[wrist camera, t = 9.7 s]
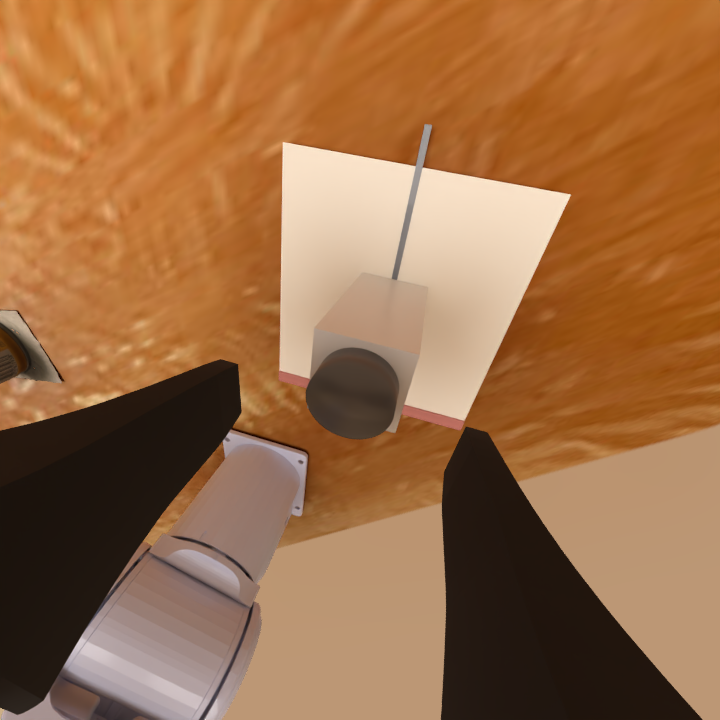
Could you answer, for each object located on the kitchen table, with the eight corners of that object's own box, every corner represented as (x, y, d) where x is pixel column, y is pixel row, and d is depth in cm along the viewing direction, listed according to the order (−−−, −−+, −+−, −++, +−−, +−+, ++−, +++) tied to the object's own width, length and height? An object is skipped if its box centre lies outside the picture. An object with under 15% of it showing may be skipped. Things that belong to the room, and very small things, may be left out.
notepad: (452, 436, 22) (453, 445, 21) (283, 389, 23) (278, 396, 22) (582, 153, 13) (592, 151, 12) (291, 104, 14) (282, 100, 13)
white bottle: (410, 345, 18) (390, 456, 11) (352, 330, 18) (295, 428, 11) (427, 287, 16) (417, 375, 9) (362, 272, 16) (300, 344, 9)
